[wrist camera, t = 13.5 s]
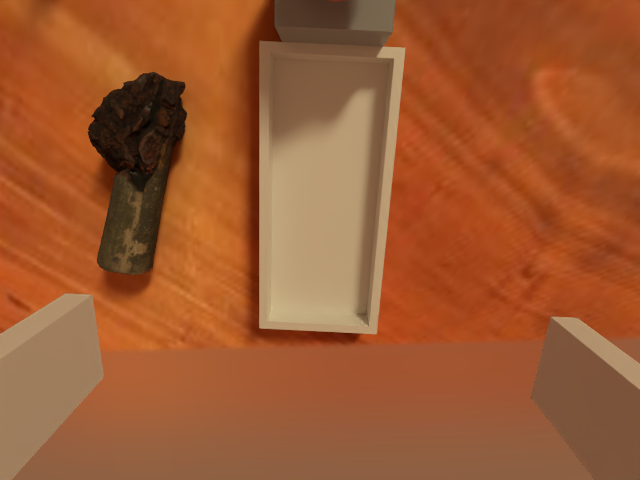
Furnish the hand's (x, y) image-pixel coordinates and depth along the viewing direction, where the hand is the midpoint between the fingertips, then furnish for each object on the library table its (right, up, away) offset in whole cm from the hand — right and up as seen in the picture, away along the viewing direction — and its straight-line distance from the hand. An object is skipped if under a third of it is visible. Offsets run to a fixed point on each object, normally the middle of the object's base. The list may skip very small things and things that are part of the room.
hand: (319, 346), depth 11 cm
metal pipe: (-18, +5, +29) cm, 35 cm away
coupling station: (+1, +11, +24) cm, 27 cm away
